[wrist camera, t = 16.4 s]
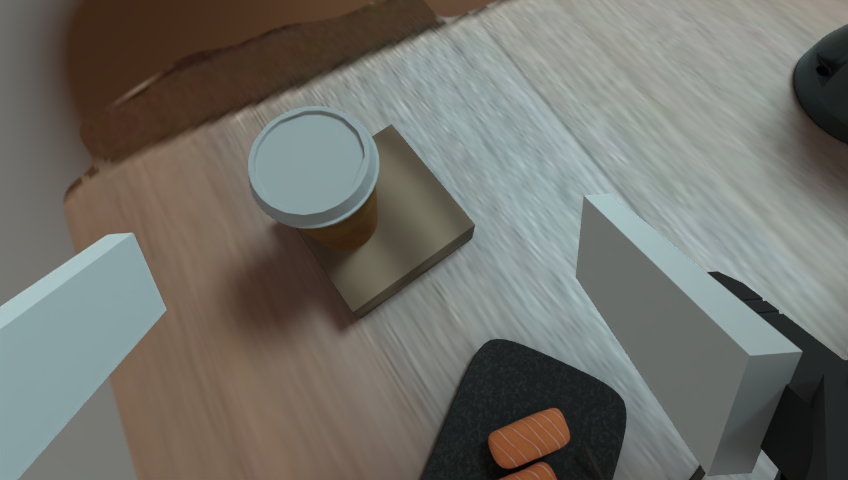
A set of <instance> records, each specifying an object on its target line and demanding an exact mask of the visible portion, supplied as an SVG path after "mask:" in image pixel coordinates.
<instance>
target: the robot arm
mask: <svg viewBox="0 0 848 480" xmlns="http://www.w3.org/2000/svg"><path fill="white" fill-rule="evenodd" d="M794 81H795V89H796V93H797V96H798V98H799V100H800V102H801V104H802V106H803V108H804V109H805V110H806V112H807V113H808V114H809V116H810V117H811V118H812V119H813V120H814V121H815V122H816V123H817V124H818V125H819V126H820V127H822V128H823V129H824V130H826V131H827V132H828V133H830V134H831V135H833V136H835V137H836V138H838V139H840V140H842V141H844V142H846V143H848V24H847V25H845V26H843V27H841V28H839V29H837V30H835V31H833V32H831V33H829V34H828V35H826V36H825V37H824V38H822V39H821V40H820V41H819V42H818V43H816V44H815V45H814V46H813V47H812V48H811V49H810V50H808V51H807V52H806V53H805V54H804V55H803V57H802V58H801V59H800V61H799V63H798V65H797V67H796V71H795V78H794ZM576 278H577V280H578V281H579V283H580V284H581V286H582V287H583V289H584V290H585V292H586V293H587V295H588V296H589V298H590V299H591V301H592V302H593V304H594V305H595V307H596V308H597V310H598V311H599V313H600V314H601V316H602V317H603V319H604V320H605V322H606V323H607V325H608V326H609V328H610V329H611V331H612V332H613V334H614V335H615V337H616V339H617V340H618V342H619V343H620V345H621V346H622V348H623V349H624V351H625V352H626V354H627V355H628V357H629V358H630V360H631V361H632V363H633V364H634V366H635V367H636V369H637V370H638V372H639V373H640V375H641V376H642V378H643V379H644V381H645V382H646V384H647V385H648V387H649V388H650V390H651V391H652V393H653V394H654V396H655V397H656V399H657V400H658V402H659V403H660V405H661V406H662V408H663V409H664V411H665V412H666V414H667V415H668V417H669V418H670V420H671V421H672V423H673V424H674V426H675V427H676V429H677V431H678V432H679V434H680V435H681V437H682V438H683V440H684V441H685V443H686V444H687V446H688V447H689V449H690V450H691V452H692V453H693V455H694V456H695V458H696V459H697V461H698V462H699V464H700V465H701V467H702V468H703V470H704V471H705V473H706V474H707V476H714V475H728V474H741V473H752V470H753V468H754V466H755V463H756V461H757V459H758V456H759V454H760V452H761V449H762V450H763V451H764V452H765V453H766V455H767V456H768V457H769V458H770V459H771V461H772V462H773V463H774V464H775V465H776V467H777V468H778V469H779V470H778V473H777V475H776V477H775V479H774V480H848V360H843V359H842V358H840V357H839V356H838V355H836V354H835V353H834V352H832V351H831V350H830V349H828V348H827V347H826V346H825V345H823V344H822V343H821V342H819V341H818V340H817V339H815V338H814V337H813V336H811V335H810V334H809V333H808V332H806V331H805V330H804V329H802V328H801V327H800V326H798V325H797V324H796V323H794V322H793V321H792V320H791V319H789V318H788V317H787V316H785V315H784V314H779V310H777V309H776V308H775V307H774V306H772V305H771V304H770V303H768V302H767V301H763V300H762V297H760V296H759V295H758V294H757V293H755V292H754V291H753V290H751V289H750V288H749V287H747V286H746V285H745V284H743V283H742V282H739V281H737V280H735V279H733V278H731V277H728V276H726V275H724V274H722V273H720V272H718V271H717V272H706V271H704V270H703V269H702V268H701V267H699V266H698V265H697V264H696V263H695V262H693V261H692V260H691V259H690V258H688V257H687V256H686V255H685V254H684V253H682V252H681V251H680V250H679V249H678V248H676V247H675V246H674V245H673V244H671V243H670V242H669V241H668V240H667V239H665V238H664V237H663V236H662V235H661V234H659V233H658V232H657V231H656V230H654V229H653V228H652V227H651V226H650V225H648V224H647V223H646V222H645V221H644V220H642V219H641V218H640V217H639V216H637V215H636V214H635V213H634V212H633V211H631V210H630V209H629V208H628V207H626V206H625V205H624V204H623V203H622V202H620V201H619V200H618V199H617V198H616V197H614V196H613V195H612V194H611V193H609V194H597V195H584V199H583V209H582V219H581V229H580V239H579V249H578V260H577V270H576ZM165 311H166V307H165V305H164V303H163V301H162V298H161V296H160V294H159V291H158V289H157V287H156V284H155V282H154V280H153V277H152V275H151V273H150V270H149V268H148V266H147V264H146V261H145V259H144V257H143V254H142V252H141V250H140V247H139V245H138V243H137V240H136V238H135V236H134V234H133V233H123V234H111V235H106V236H105V237H103V238H102V239H100V240H99V241H97V242H96V243H94V244H93V245H91V246H90V247H88V248H87V249H85V250H84V251H82V252H81V253H79V254H78V255H76V256H75V257H74V258H72V259H70V260H69V261H67V262H66V263H65V264H63V265H62V266H60V267H59V268H57V269H56V270H54V271H53V272H51V273H50V274H48V275H47V276H45V277H44V278H42V279H41V280H39V281H38V282H36V283H35V284H33V285H32V286H30V287H29V288H27V289H26V290H24V291H23V292H21V293H20V294H18V295H17V296H15V297H14V298H12V299H11V300H9V301H8V302H7V303H5V304H3V305H2V306H1V307H0V480H18V478H19V477H20V476H21V475H22V474H23V473H24V472H25V470H26V469H27V468H28V467H29V466H30V465H31V464H32V462H33V461H34V460H35V459H36V458H37V457H38V456H39V455H40V453H41V452H42V451H43V450H44V449H45V448H46V447H47V445H48V444H49V443H50V442H51V441H52V440H53V439H54V438H55V436H56V435H57V434H58V433H59V432H60V431H61V429H62V428H63V427H64V426H65V425H66V424H67V423H68V422H69V420H70V419H71V418H72V417H73V416H74V415H75V414H76V412H77V411H78V410H79V409H80V408H81V407H82V405H83V404H84V403H85V402H86V401H87V400H88V399H89V398H90V396H91V395H92V394H93V393H94V392H95V391H96V389H97V388H98V387H99V386H100V385H101V384H102V383H103V382H104V381H105V379H106V378H107V377H108V376H109V375H110V374H111V373H112V371H113V370H114V369H115V368H116V367H117V366H118V365H119V363H120V362H121V361H122V360H123V359H124V358H125V357H126V355H127V354H128V353H129V352H130V351H131V350H132V349H133V347H134V346H135V345H136V344H137V343H138V342H139V341H140V340H141V338H142V337H143V336H144V335H145V334H146V333H147V332H148V330H149V329H150V328H151V327H152V326H153V325H154V324H155V322H156V321H157V320H158V319H159V318H160V317H161V316H162V314H163V313H164V312H165Z"/></svg>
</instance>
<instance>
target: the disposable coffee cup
mask: <svg viewBox="0 0 848 480" xmlns="http://www.w3.org/2000/svg"><path fill="white" fill-rule="evenodd" d="M248 173H249V183H250V188H251V191H252V194H253V197H254V198H255V200H256V202H257V204H258V205H259V206H260V207H261V209H262V210H263V211H264V212H265V213H266V214H267V215H269V216H270V217H272V218H273V219H275V220H276V221H278V222H280V223H282V224H285V225H288V226H291V227H295V228H299V229H300V230H301V231H303V232H305V233H307V234H308V235H310V236H311V237H313V238H315V239H316V240H318V241H320V242H321V243H323V244H324V245H326V246H328V247H329V248H331V249H335V250H340V251H346V250H352V249H355V248H357V247H360V246H362V245H363V244H365V243H366V242H367V241H368V240H369V239H370V238H371V237H372V235H373V233H374V232H375V230H376V227H377V223H378V212H377V195H376V182H377V178H378V174H379V154H378V150H377V147H376V144H375V142H374V140H373V138H372V136H371V135H370V133H369V132H368V131H367V130H366V129H365V128H364V126H362V125H361V124H360V123H358V122H357V121H355V120H354V119H353V118H351V117H350V116H349V115H347V114H345V113H343V112H341V111H340V110H336V109H333V108H330V107H324V106H308V107H301V108H297V109H294V110H291V111H288V112H286V113H284V114H282V115H280V116H279V117H277V118H275V119H274V120H273V121H272V122H270V123H269V124H268V125H267V126H266V127H265V128H264V129H263V130H262V132H261V133H260V134H259V136H258V137H257V138H256V140H255V141H254V144H253V146H252V148H251V151H250V155H249V159H248Z"/></svg>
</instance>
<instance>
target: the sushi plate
mask: <svg viewBox="0 0 848 480" xmlns="http://www.w3.org/2000/svg"><path fill="white" fill-rule="evenodd" d="M625 428H626V407H625V404H624V401H623V399H622V398H621V397H620V395H619V394H618V393H617V392H616V391H614V390H613V389H612V388H611V387H609V386H608V385H606V384H605V383H603V382H602V381H600V380H598V379H596V378H594V377H592V376H590V375H589V374H587V373H584V372H582V371H580V370H578V369H576V368H574V367H572V366H570V365H567V364H565V363H563V362H561V361H559V360H557V359H554V358H552V357H550V356H548V355H545V354H543V353H541V352H539V351H536V350H534V349H532V348H529V347H527V346H524V345H521V344H519V343H516V342H513V341H508V340H503V339H494V340H490V341H488V342H487V343H485V344H484V345H483V346H482V347H481V348H480V349H479V351H478V352H477V354H476V355H475V357H474V358H473V360H472V362H471V364H470V366H469V368H468V370H467V372H466V375H465V377H464V379H463V381H462V384H461V386H460V388H459V391H458V393H457V395H456V398H455V400H454V403H453V405H452V408H451V410H450V412H449V415H448V417H447V420H446V422H445V424H444V427H443V429H442V432H441V434H440V437H439V439H438V441H437V444H436V446H435V449H434V451H433V454H432V456H431V458H430V461H429V463H428V466H427V468H426V470H425V473H424V475H423V478H422V480H612V479H613V476H614V472H615V469H616V465H617V462H618V458H619V454H620V451H621V447H622V443H623V438H624V433H625ZM704 475H705V471H704V470H703V468H702V467H701V465H700V466H699V467H698V469H697V470H696V471H695V473H694V474H693V475H692V477H691V478H690V479H689V480H701V479H702V478H703V476H704Z"/></svg>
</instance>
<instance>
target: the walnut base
mask: <svg viewBox="0 0 848 480" xmlns="http://www.w3.org/2000/svg"><path fill="white" fill-rule="evenodd" d="M372 138H373V140H374V142H375V144H376V147H377V150H378V154H379V174H378V178H377V182H376V195H377V212H378V223H377V227H376V230H375V232H374V233H373V235H372V237H371V238H370V239H369V240H368V241H367V242H366V243H365V244H363V245H362V246H360V247H357V248H355V249H352V250H346V251H340V250H335V249H331V248H329V247H328V246H326V245H324V244H323V243H321V242H320V241H318V240H316V239H315V238H313V237H311V236H310V235H308V234H307V233H305V232H303V231H301V230H300V229H299V228H296V229H297V230H298V232H299V233H300V235H301V236H302V238H303V239H304V241H305V242H306V244H307V245H308V247H309V248H310V250H311V251H312V253H313V254H314V256H315V257H316V259H317V260H318V262H319V263H320V265H321V266H322V267H323V269H324V270H325V272H326V273H327V275H328V276H329V278H330V279H331V281H332V282H333V284H334V285H335V287H336V288H337V290H338V291H339V293H340V294H341V296H342V297H343V299H344V300H345V302H346V303H347V305H348V306H349V308H350V309H351V311H352V312H353V313H354V314H356V315H357V316H358V317H360V318H362V317H363V316H365V315H366V314H368V313H369V312H370V311H372V310H373V309H375V308H376V307H377V306H379V305H380V304H381V303H383V302H384V301H386V300H387V299H388V298H390V297H391V296H393V295H394V294H395V293H397V292H398V291H399V290H401V289H402V288H404V287H405V286H406V285H408V284H409V283H410V282H412V281H413V280H415V279H416V278H417V277H419V276H420V275H422V274H423V273H424V272H426V271H427V270H428V269H430V268H431V267H433V266H434V265H435V264H437V263H438V262H440V261H441V260H442V259H444V258H445V257H446V256H448V255H449V254H451V253H452V252H453V251H455V250H456V249H458V248H459V247H460V246H462V245H463V244H464V243H466V242H467V241H469V240H470V239H471V238H472V236H473V232H474V227H475V224H474V223H473V222H472V220H471V219H470V218H469V217H468V216H467V214H466V213H465V212H464V211H463V210H462V208H461V207H460V206H459V205H458V204H457V202H456V201H455V200H454V199H453V197H452V196H451V195H450V194H449V193H448V191H447V190H446V189H445V188H444V187H443V185H442V184H441V183H440V182H439V181H438V179H437V178H436V177H435V176H434V175H433V173H432V172H431V171H430V170H429V169H428V167H427V166H426V165H425V164H424V163H423V161H422V160H421V159H420V158H419V157H418V155H417V154H416V153H415V152H414V151H413V149H412V148H411V147H410V146H409V145H408V143H407V142H406V141H405V140H404V139H403V137H402V136H401V135H400V134H399V133H398V131H397V130H396V129H395V128H394V127H393V125H392V124H391V125H390V126H388V127H386V128H385V129H383V130H382V131H380V132H379V133H377V134H376V135H374V136H372Z"/></svg>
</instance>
